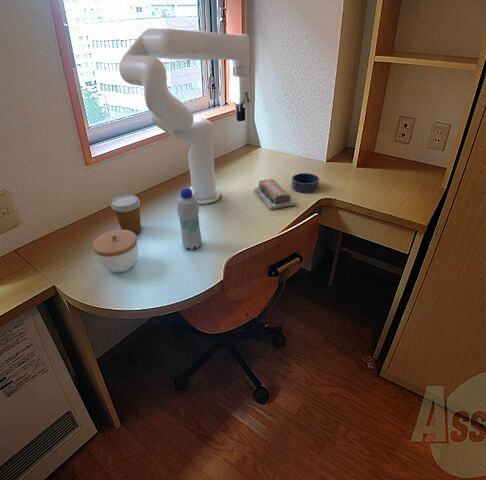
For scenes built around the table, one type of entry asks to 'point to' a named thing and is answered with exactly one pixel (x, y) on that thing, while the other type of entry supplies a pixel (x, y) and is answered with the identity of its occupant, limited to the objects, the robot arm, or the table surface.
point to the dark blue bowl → (305, 182)
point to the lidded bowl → (116, 250)
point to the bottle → (189, 219)
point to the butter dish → (273, 194)
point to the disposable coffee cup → (127, 212)
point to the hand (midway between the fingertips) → (241, 120)
